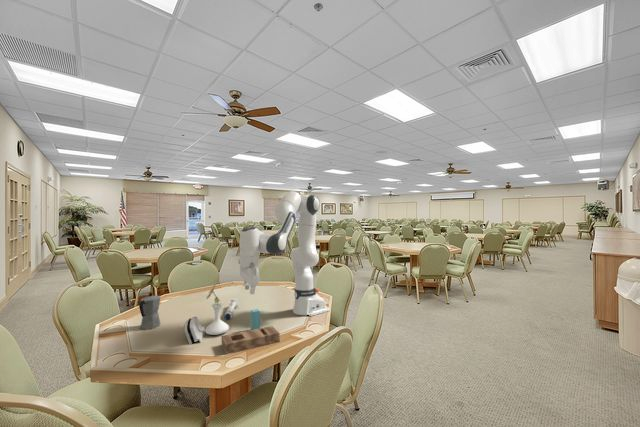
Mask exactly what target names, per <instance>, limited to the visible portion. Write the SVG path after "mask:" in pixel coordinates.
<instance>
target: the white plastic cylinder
mask: <svg viewBox="0 0 640 427" xmlns="http://www.w3.org/2000/svg"><path fill="white" fill-rule="evenodd" d="M230 301H231V302H230V304H229V306H228V308H227V310H226V311H225V312H224V315H223V319H224V320H225V321H229V320H231V319H232V317H233V315H234V314H233V313H234V310H236V309H238V308H239V305H240V302H239V301H238V297H233V298H231V300H230Z"/></svg>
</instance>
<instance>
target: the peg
mask: <svg viewBox="0 0 640 427" xmlns="http://www.w3.org/2000/svg"><path fill="white" fill-rule="evenodd" d="M259 328H261V311H260V309H259V308H256V309H250V330H254V329H259Z"/></svg>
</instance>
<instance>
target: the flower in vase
mask: <svg viewBox="0 0 640 427" xmlns="http://www.w3.org/2000/svg"><path fill="white" fill-rule="evenodd" d="M215 288H216V284H213V285H212V286H211V288H210V290H209V291H208V294H207V296H206V299H207V300H209V299H210V297H211V296H212V294H213V295H214V297H215V298H214V300H213V301H214V303H213V304H211V307H212V308H213V310H214V319H213V321H211V323H210V324H209V325H208V326H206V327H205V331H204V333H206V335H211V336H217V335H222V334H224V333H226V332H227V331H228V330H229V329H230V326H229V324H228V323H226V322H225V321H223V320H222V319H221V317H220V313H221V308H222V306H223V304H222V303H219V302H221V301H220V298H219V297H218V296H217V295H216V294H215V292H214V290H215Z"/></svg>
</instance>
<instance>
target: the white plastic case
mask: <svg viewBox="0 0 640 427" xmlns="http://www.w3.org/2000/svg"><path fill="white" fill-rule="evenodd" d="M205 329H206V327H205V326H203V325H202V324H201V323H200V320H199V319H198V316H196V315H195V316H193V317H192V316H191V318H188V319H187V320H186V321H185V324H184V332H185V336H186V338H187V341H188V344H189V345H192V344H193V343H194V342H195V343H196V342H198V341H199V343H201V344H202V341H203V338H204V335H205Z"/></svg>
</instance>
